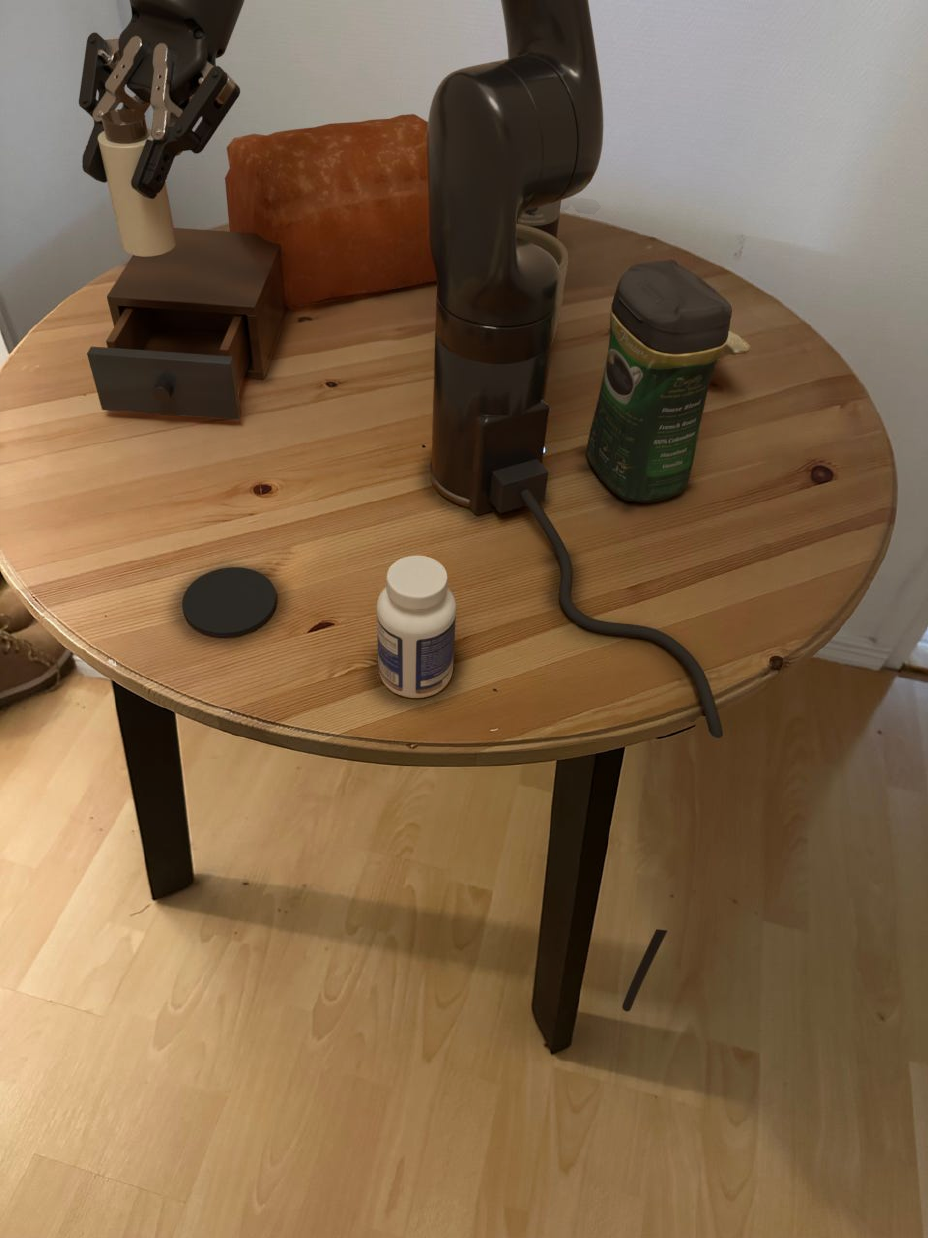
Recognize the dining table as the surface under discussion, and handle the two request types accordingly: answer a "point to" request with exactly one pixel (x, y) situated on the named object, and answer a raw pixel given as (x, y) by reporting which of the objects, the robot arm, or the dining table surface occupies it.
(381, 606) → the pill bottle
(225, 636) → the coaster
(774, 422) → the dining table surface
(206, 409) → the drawer
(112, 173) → the cream bottle
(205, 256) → the cabinet
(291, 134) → the bread
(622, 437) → the coffee jar
